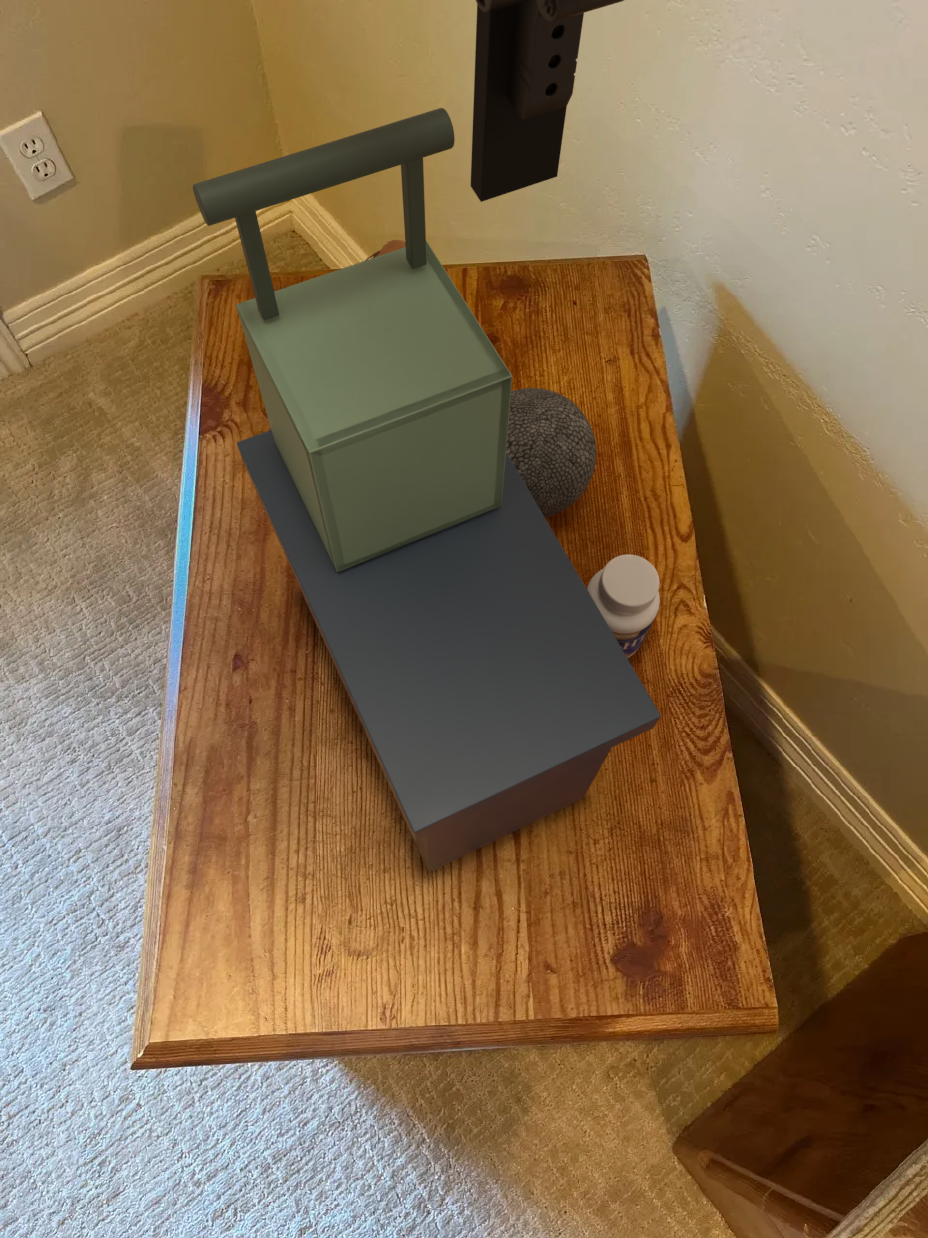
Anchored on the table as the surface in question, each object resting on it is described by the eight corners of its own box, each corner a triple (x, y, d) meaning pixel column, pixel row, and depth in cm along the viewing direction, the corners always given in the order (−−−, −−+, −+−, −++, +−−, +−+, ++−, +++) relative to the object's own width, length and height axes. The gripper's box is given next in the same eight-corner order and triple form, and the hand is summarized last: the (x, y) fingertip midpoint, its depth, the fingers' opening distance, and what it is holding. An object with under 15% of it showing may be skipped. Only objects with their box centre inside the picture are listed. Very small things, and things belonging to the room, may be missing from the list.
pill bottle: (598, 675, 71) (619, 628, 63) (561, 620, 73) (576, 566, 65) (656, 643, 72) (684, 592, 64) (618, 589, 74) (640, 533, 66)
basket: (535, 236, 37) (432, 88, 40) (266, 329, 34) (183, 165, 38) (509, 502, 53) (438, 382, 57) (328, 576, 51) (266, 446, 55)
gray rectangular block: (601, 805, 67) (662, 716, 49) (421, 893, 64) (413, 833, 46) (450, 525, 76) (454, 361, 58) (286, 591, 73) (236, 441, 55)
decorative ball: (594, 538, 76) (616, 469, 67) (470, 547, 75) (474, 478, 66) (577, 434, 80) (595, 355, 71) (459, 442, 79) (461, 363, 70)
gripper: (-76, -1467, 17) (199, -125, 36) (601, -1340, 8) (486, 350, 27) (318, -1450, 18) (380, -169, 38) (1264, -1326, 9) (708, 268, 29)
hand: (424, 50), depth 33 cm, fingers open, 13 cm apart
